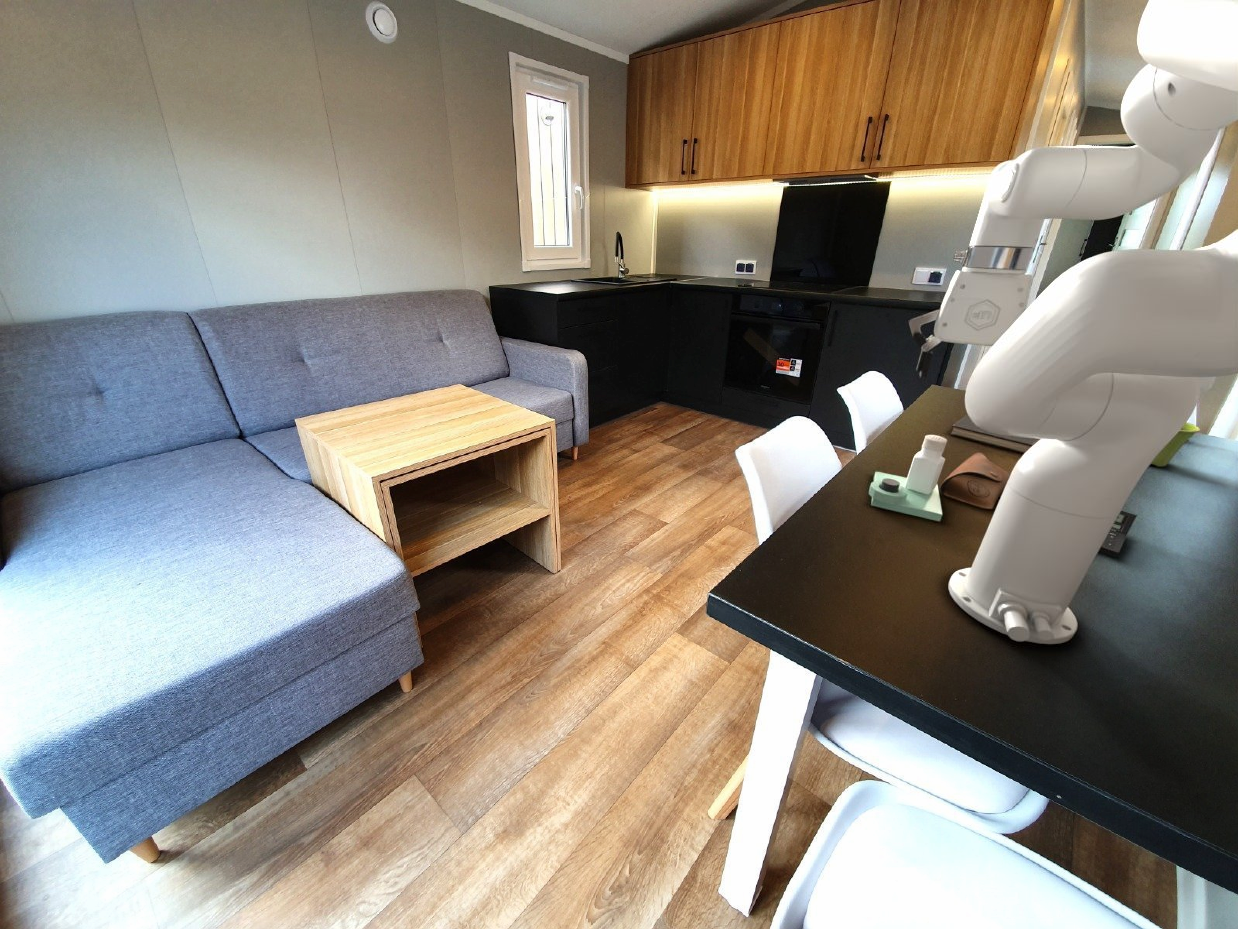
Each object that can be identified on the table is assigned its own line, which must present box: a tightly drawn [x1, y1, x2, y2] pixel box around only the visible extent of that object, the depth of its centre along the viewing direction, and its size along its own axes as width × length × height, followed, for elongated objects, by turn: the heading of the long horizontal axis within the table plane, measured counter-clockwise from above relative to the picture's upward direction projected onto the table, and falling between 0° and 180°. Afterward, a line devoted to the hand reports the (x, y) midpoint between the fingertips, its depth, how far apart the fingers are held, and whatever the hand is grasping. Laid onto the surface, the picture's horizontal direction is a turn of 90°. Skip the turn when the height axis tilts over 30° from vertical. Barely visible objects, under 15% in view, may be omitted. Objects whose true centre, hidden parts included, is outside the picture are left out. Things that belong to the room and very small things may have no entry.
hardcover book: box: [949, 414, 1040, 455], centre depth 115 cm, size 16×23×2 cm
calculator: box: [1098, 510, 1137, 558], centre depth 76 cm, size 9×12×3 cm
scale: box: [868, 470, 943, 522], centre depth 84 cm, size 13×11×3 cm
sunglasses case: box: [940, 452, 1011, 510], centre depth 89 cm, size 18×7×7 cm, turn 134°
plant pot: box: [1150, 421, 1201, 467], centre depth 101 cm, size 9×9×9 cm
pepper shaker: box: [905, 434, 948, 495], centre depth 83 cm, size 4×4×10 cm
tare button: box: [880, 478, 900, 493], centre depth 81 cm, size 3×3×2 cm
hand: (957, 380), depth 76 cm, fingers open, 9 cm apart
